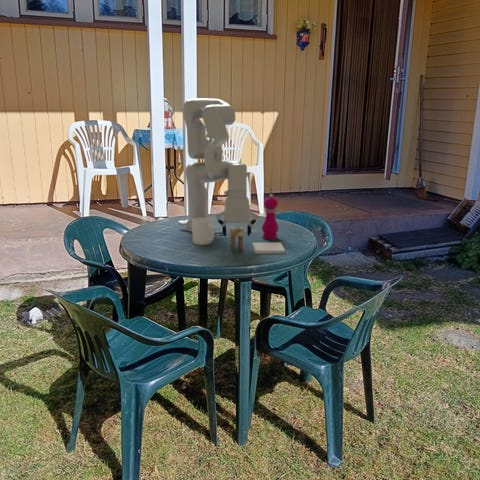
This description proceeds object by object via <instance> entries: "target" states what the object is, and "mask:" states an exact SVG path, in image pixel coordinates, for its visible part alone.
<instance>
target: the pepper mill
mask: <svg viewBox="0 0 480 480" xmlns="http://www.w3.org/2000/svg"><path fill="white" fill-rule="evenodd" d="M263 205H264V207H265V208H264V209H265V211H264V212H265V220H264V221H263V223H262V226H261V231H262V232H263V234H262V238H263V240H267V239H268V241H271V240H272V241H273V239H274V240H277V239H278V234H277V233H278V231H279V224H278V222H277V220H276V213H277V207H278V205H279V204H278V199H277V198H275V197H274V194H273V193H270V194H269V195H268V197H267V198H266V199H264V201H263Z"/></svg>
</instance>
